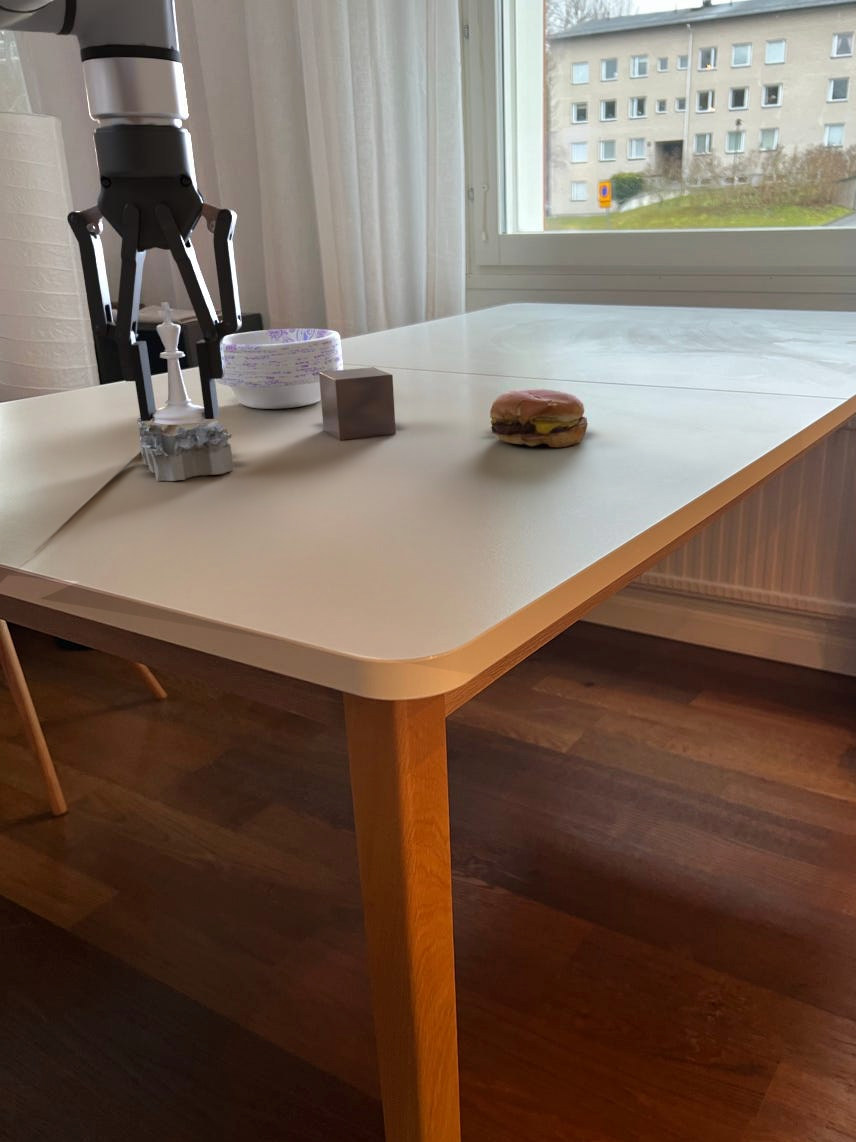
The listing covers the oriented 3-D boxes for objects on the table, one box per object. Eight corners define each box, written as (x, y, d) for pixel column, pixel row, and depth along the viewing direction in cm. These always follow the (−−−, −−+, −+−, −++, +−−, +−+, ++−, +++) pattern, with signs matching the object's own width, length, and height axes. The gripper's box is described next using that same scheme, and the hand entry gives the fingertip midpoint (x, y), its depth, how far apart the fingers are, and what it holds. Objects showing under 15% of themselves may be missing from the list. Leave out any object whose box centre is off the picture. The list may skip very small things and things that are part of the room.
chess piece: (220, 416, 90) (206, 300, 86) (184, 426, 86) (168, 305, 82) (177, 413, 92) (161, 299, 88) (140, 423, 88) (122, 304, 84)
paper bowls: (194, 412, 116) (184, 342, 112) (255, 390, 129) (248, 327, 126) (314, 416, 112) (307, 343, 109) (364, 393, 125) (359, 328, 122)
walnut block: (340, 440, 100) (335, 379, 98) (323, 429, 105) (318, 371, 103) (396, 434, 102) (392, 374, 100) (377, 424, 107) (373, 367, 105)
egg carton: (140, 460, 94) (132, 417, 92) (220, 451, 97) (214, 409, 95) (152, 485, 85) (144, 437, 83) (240, 475, 88) (234, 428, 86)
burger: (540, 425, 104) (540, 380, 103) (605, 439, 98) (607, 391, 96) (468, 440, 99) (467, 393, 97) (532, 456, 92) (532, 405, 90)
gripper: (259, 127, 84) (285, 406, 93) (42, 130, 83) (90, 412, 92) (246, 120, 77) (276, 422, 86) (9, 123, 76) (65, 428, 85)
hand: (180, 416), depth 89 cm, fingers closed on chess piece, 5 cm apart
